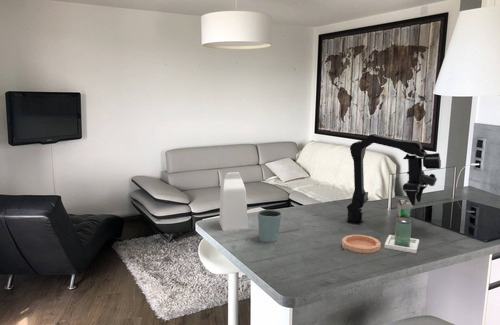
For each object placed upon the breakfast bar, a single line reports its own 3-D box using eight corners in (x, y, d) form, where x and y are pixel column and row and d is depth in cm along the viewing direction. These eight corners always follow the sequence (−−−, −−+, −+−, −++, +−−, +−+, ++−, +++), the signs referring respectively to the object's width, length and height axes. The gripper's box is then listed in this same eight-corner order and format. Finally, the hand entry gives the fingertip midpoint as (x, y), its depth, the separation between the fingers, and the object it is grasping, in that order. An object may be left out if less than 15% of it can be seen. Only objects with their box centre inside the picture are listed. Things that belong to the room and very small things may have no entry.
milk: (222, 230, 185) (222, 176, 180) (219, 222, 196) (218, 170, 191) (248, 228, 187) (248, 174, 182) (243, 220, 198) (243, 169, 193)
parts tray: (384, 250, 162) (384, 244, 162) (388, 240, 173) (389, 234, 172) (415, 255, 157) (416, 249, 157) (418, 245, 167) (419, 239, 167)
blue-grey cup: (254, 236, 177) (254, 210, 175) (274, 233, 181) (274, 208, 179) (264, 244, 168) (264, 217, 166) (285, 241, 172) (285, 214, 170)
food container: (413, 225, 191) (415, 205, 189) (400, 224, 192) (401, 204, 191) (408, 217, 203) (410, 198, 201) (396, 216, 204) (397, 197, 202)
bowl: (338, 250, 162) (338, 244, 161) (347, 238, 175) (347, 232, 174) (376, 258, 155) (376, 251, 154) (382, 244, 168) (383, 238, 167)
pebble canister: (392, 246, 163) (394, 221, 161) (395, 241, 169) (396, 216, 167) (409, 249, 161) (411, 223, 159) (410, 244, 166) (412, 218, 164)
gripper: (429, 171, 166) (430, 208, 167) (439, 167, 181) (440, 201, 181) (401, 171, 173) (403, 206, 173) (413, 167, 187) (414, 200, 188)
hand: (416, 203), depth 179 cm, fingers open, 9 cm apart
